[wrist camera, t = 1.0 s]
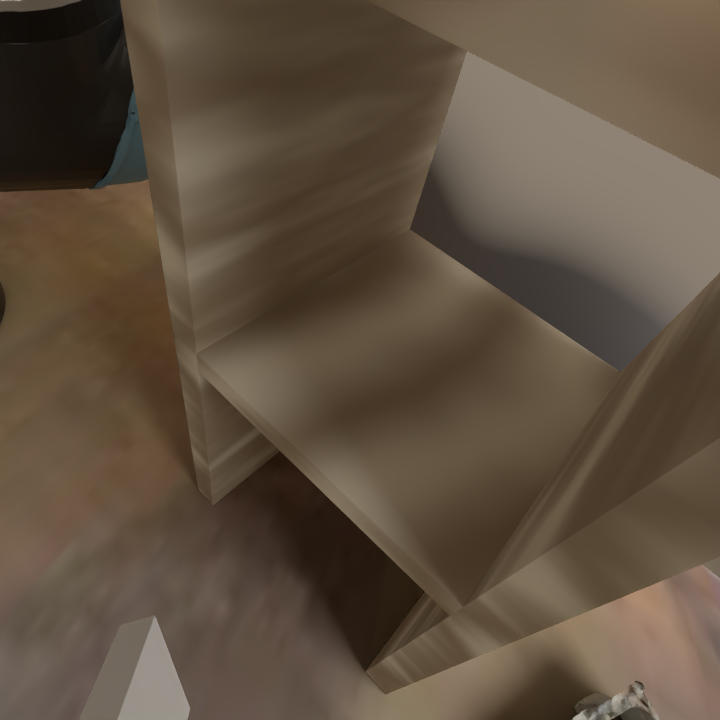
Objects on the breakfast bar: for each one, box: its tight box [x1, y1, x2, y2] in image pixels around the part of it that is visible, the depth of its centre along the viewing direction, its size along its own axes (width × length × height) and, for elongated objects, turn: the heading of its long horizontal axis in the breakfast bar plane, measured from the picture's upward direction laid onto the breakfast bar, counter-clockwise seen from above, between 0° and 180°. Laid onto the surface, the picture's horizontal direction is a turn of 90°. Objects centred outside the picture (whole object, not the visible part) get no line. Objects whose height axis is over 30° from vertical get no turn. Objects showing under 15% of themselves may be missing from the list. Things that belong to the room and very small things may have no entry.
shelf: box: [120, 0, 720, 694], centre depth 21 cm, size 16×14×30 cm
